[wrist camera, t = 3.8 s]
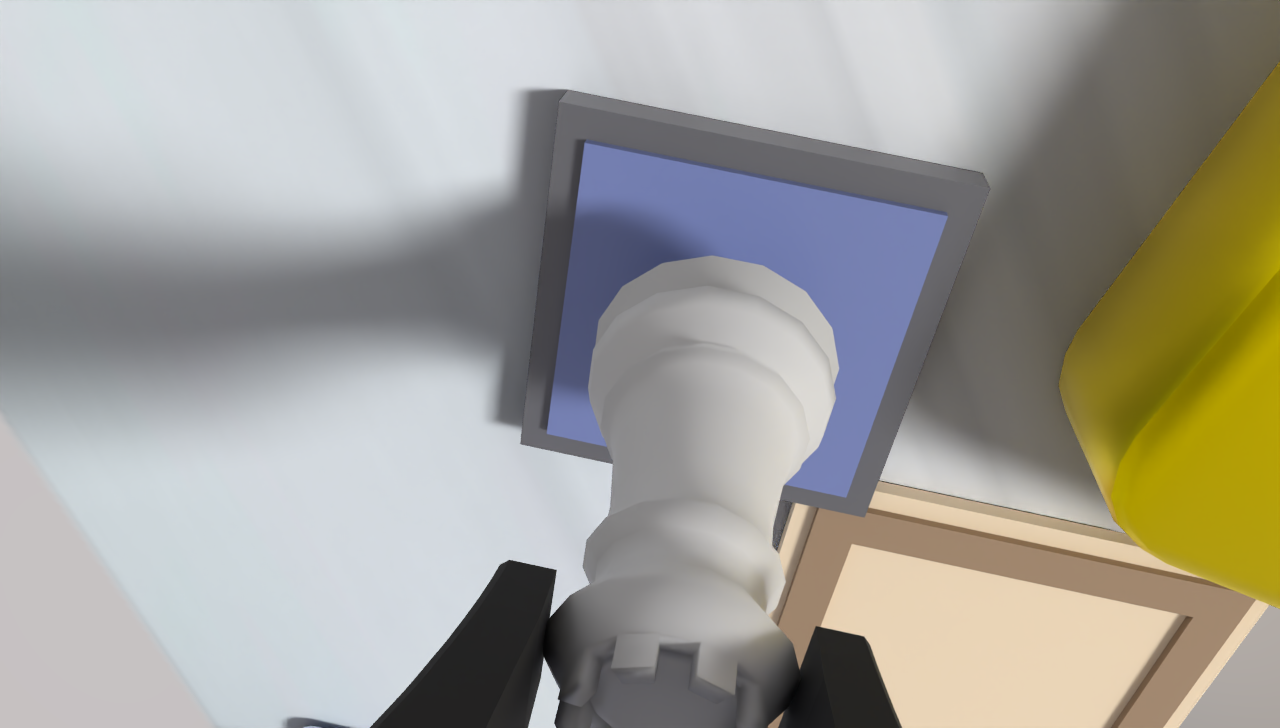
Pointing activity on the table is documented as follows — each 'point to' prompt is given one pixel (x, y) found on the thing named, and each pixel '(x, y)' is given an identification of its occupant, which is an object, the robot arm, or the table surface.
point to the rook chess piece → (693, 499)
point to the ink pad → (755, 233)
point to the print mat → (1007, 614)
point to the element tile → (1195, 370)
